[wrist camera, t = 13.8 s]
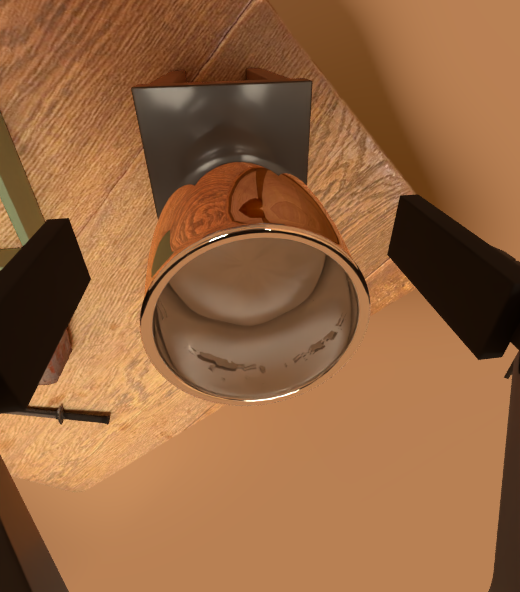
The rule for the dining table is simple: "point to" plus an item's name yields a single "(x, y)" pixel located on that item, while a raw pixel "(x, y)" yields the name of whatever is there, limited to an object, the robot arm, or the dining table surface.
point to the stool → (220, 120)
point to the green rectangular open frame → (16, 195)
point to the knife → (63, 415)
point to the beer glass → (248, 279)
